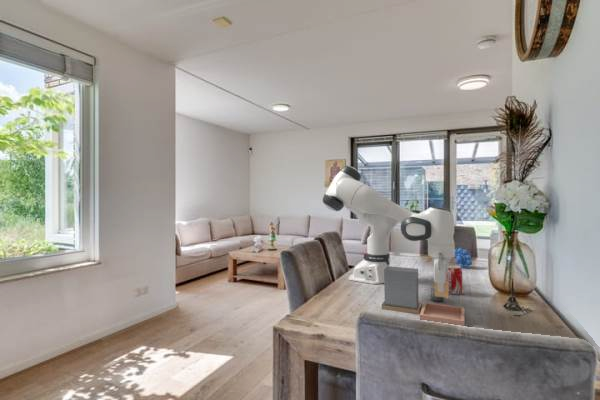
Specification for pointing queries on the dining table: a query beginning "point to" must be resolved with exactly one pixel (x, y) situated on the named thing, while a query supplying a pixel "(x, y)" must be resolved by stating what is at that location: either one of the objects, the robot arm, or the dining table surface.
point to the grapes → (462, 258)
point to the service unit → (401, 290)
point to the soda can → (455, 279)
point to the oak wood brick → (446, 289)
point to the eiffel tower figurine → (515, 303)
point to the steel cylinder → (436, 298)
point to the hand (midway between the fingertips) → (441, 289)
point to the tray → (442, 313)
